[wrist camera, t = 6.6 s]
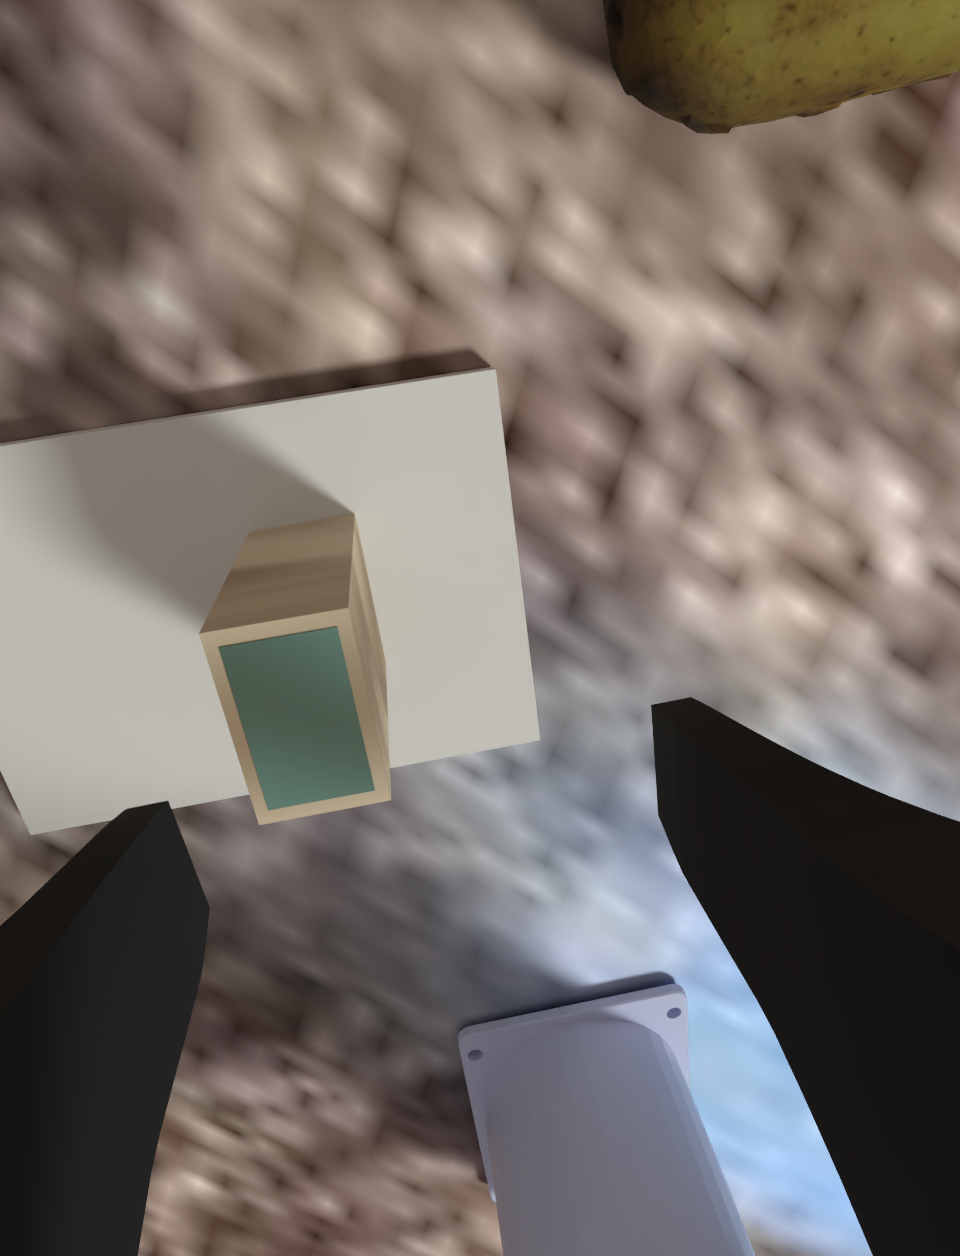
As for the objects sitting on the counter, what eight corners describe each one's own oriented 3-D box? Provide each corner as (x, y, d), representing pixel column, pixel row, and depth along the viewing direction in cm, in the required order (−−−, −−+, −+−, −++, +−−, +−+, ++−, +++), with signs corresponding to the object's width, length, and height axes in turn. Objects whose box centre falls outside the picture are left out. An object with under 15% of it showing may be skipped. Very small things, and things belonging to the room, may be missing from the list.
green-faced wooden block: (386, 662, 20) (391, 800, 15) (289, 678, 20) (259, 825, 15) (355, 513, 19) (348, 607, 13) (250, 531, 18) (198, 634, 13)
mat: (536, 729, 22) (540, 740, 22) (39, 821, 21) (30, 835, 21) (491, 366, 18) (495, 369, 18) (-126, 462, 17) (-142, 467, 17)
